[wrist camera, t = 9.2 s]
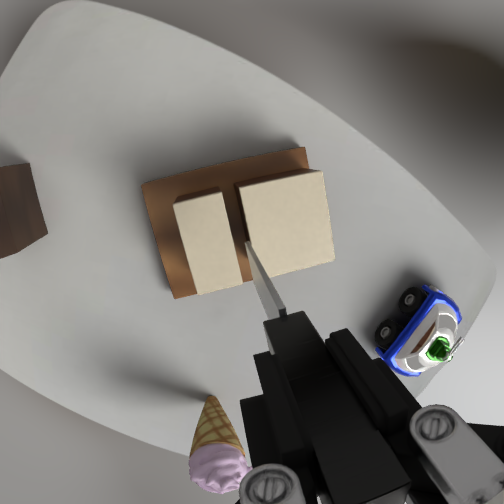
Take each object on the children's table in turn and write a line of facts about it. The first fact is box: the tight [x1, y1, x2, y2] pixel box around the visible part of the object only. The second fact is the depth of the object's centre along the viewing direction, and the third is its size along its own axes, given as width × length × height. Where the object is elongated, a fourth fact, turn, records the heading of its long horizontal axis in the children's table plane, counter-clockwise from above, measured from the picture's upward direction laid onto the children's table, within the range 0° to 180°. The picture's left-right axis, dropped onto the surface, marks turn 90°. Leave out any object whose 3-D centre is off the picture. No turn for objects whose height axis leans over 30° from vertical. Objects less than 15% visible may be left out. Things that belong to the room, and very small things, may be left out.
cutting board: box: [141, 147, 309, 299], centre depth 32 cm, size 12×16×2 cm
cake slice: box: [173, 186, 243, 295], centre depth 29 cm, size 8×4×5 cm, turn 12°
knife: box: [245, 241, 412, 504], centre depth 13 cm, size 3×2×18 cm, turn 12°
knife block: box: [0, 163, 48, 259], centre depth 25 cm, size 8×6×7 cm
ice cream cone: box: [189, 396, 253, 494], centre depth 32 cm, size 7×6×15 cm
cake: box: [234, 168, 335, 278], centre depth 29 cm, size 8×7×5 cm
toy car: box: [375, 284, 464, 377], centre depth 36 cm, size 9×12×10 cm
